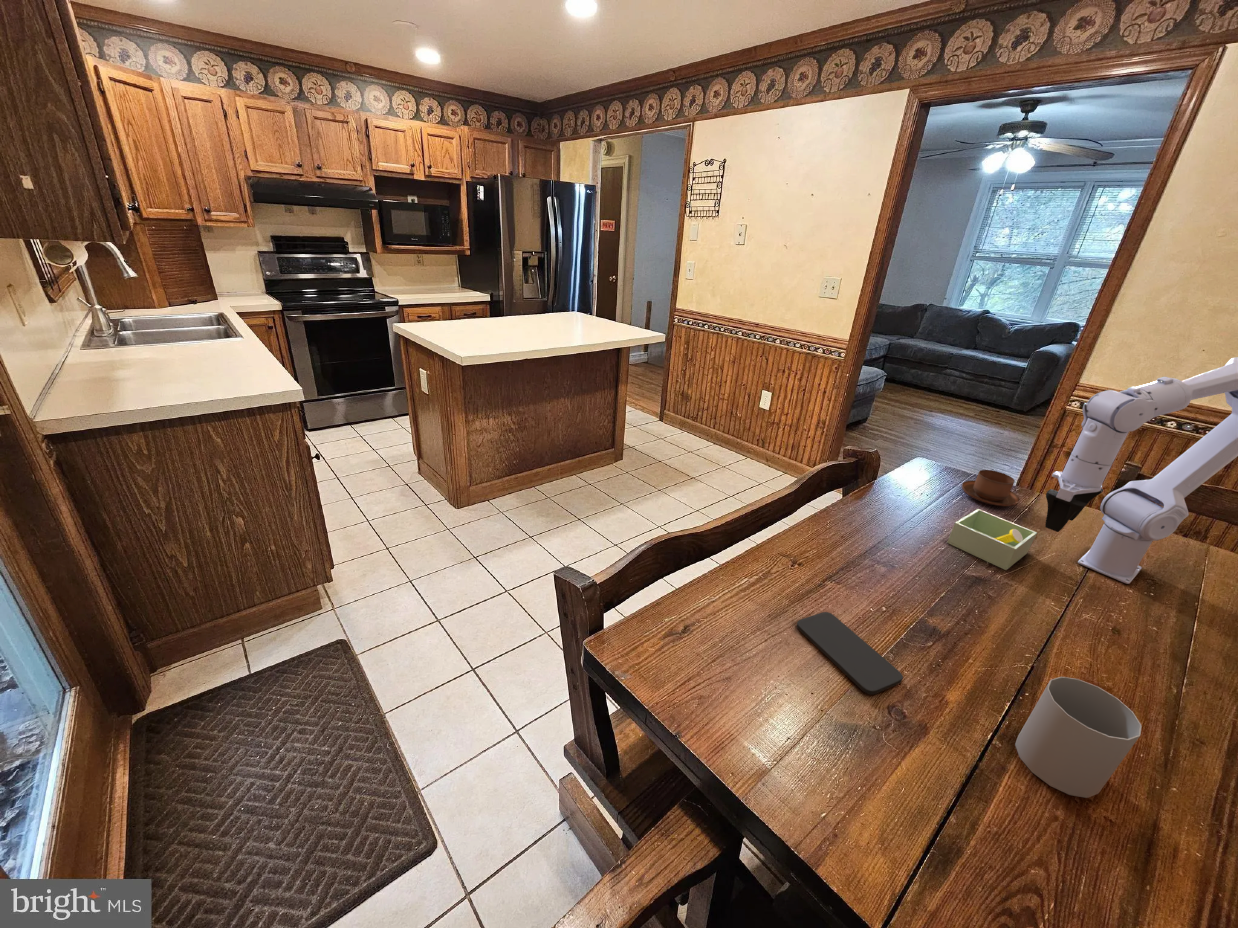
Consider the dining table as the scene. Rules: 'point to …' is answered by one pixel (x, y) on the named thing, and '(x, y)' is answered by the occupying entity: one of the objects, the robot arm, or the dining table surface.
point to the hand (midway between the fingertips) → (1059, 523)
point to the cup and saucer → (992, 488)
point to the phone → (850, 653)
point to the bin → (990, 538)
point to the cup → (1077, 736)
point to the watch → (1011, 537)
